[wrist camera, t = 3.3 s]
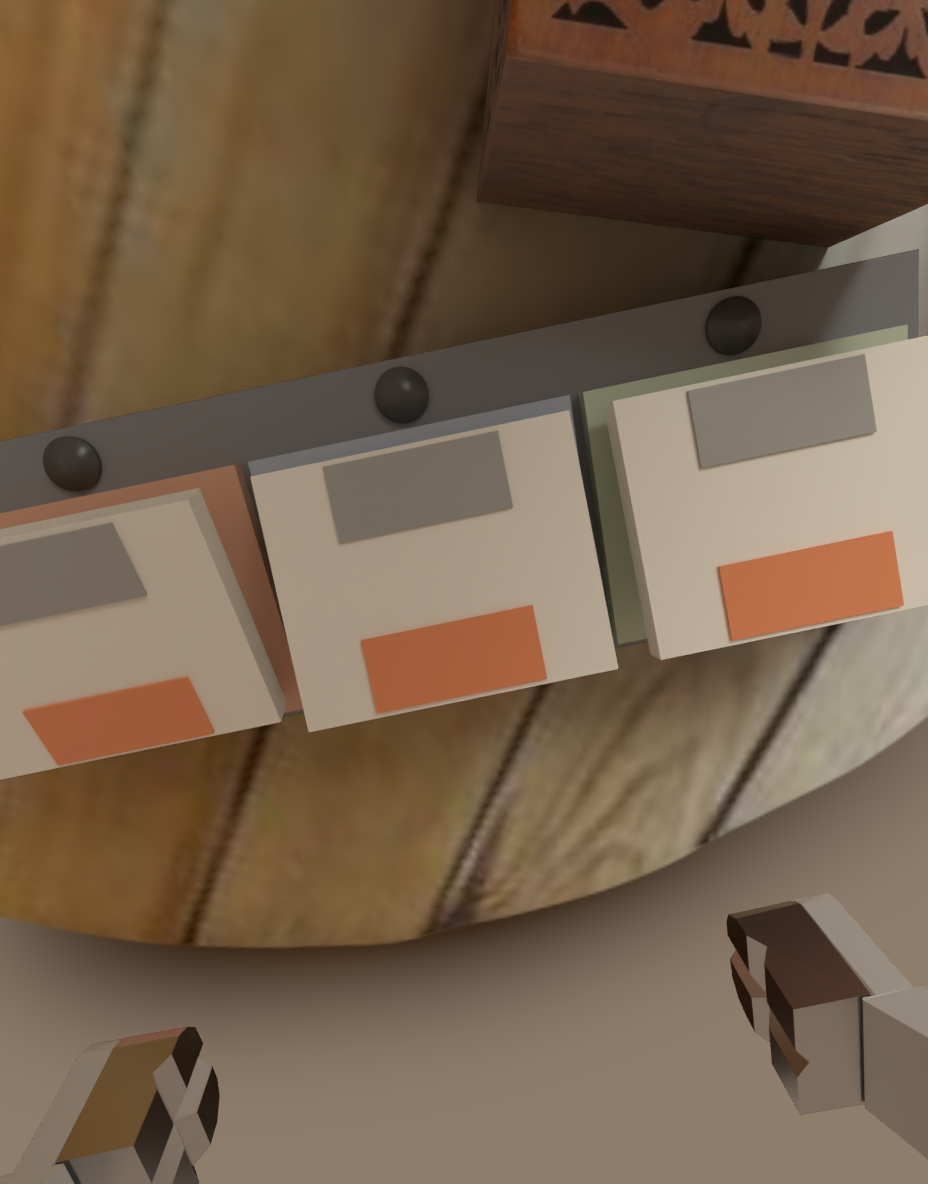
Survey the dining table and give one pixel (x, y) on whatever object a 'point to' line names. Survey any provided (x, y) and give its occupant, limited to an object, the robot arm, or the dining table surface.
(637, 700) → the dining table surface
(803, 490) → the cream two-patch switch cover
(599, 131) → the tissue box cover
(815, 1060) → the robot arm
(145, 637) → the cream patched switch plate
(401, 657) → the cream rectangular plate
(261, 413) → the gray rocker switch panel
